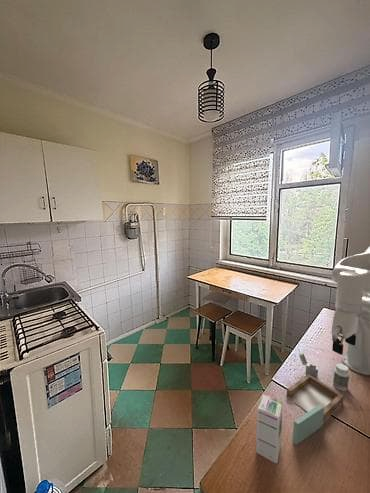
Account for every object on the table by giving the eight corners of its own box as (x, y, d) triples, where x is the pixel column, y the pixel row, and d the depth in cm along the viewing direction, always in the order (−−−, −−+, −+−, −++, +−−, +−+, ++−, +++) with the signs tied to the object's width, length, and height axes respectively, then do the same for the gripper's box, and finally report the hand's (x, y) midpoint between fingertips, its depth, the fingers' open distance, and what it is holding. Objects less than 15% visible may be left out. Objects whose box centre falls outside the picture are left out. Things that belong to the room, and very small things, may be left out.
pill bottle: (350, 392, 81) (352, 372, 80) (336, 390, 82) (338, 370, 81) (343, 382, 86) (346, 363, 85) (330, 380, 87) (332, 361, 86)
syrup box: (277, 465, 58) (280, 418, 56) (255, 452, 61) (257, 407, 59) (280, 445, 63) (283, 402, 61) (259, 435, 66) (262, 393, 64)
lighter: (317, 377, 89) (319, 359, 88) (316, 379, 88) (318, 361, 86) (298, 368, 94) (300, 351, 93) (297, 370, 92) (299, 353, 91)
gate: (318, 422, 69) (320, 403, 68) (322, 426, 68) (324, 406, 67) (292, 441, 64) (294, 420, 63) (296, 445, 63) (297, 424, 62)
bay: (307, 380, 87) (308, 374, 87) (342, 403, 77) (343, 395, 76) (286, 396, 80) (286, 389, 79) (321, 423, 69) (322, 415, 69)
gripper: (347, 296, 86) (343, 336, 89) (324, 307, 78) (321, 350, 80) (370, 303, 80) (366, 345, 83) (348, 316, 71) (343, 362, 74)
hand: (343, 348), depth 81 cm, fingers open, 9 cm apart
